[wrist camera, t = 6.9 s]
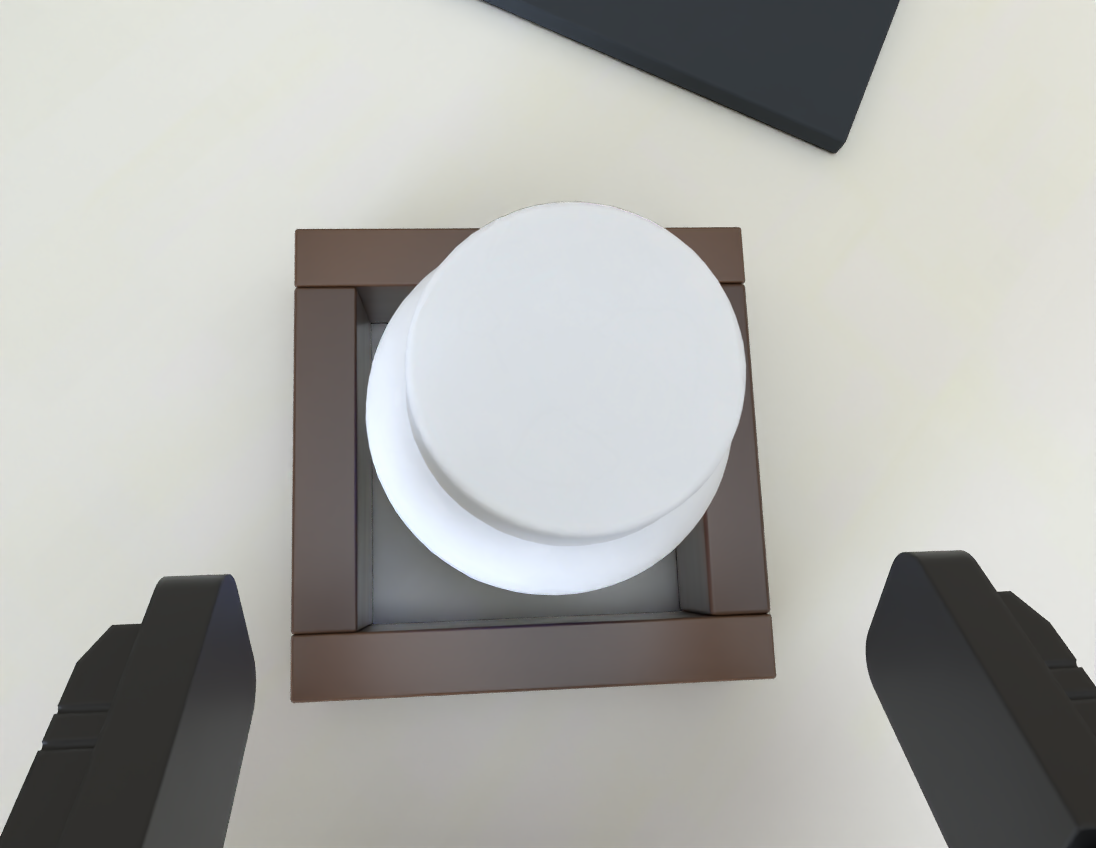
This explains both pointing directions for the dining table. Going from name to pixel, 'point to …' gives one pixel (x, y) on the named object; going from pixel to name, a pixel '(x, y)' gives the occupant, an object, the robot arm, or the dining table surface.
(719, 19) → the rubber mat
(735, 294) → the walnut holder
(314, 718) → the dining table surface
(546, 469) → the pill bottle
